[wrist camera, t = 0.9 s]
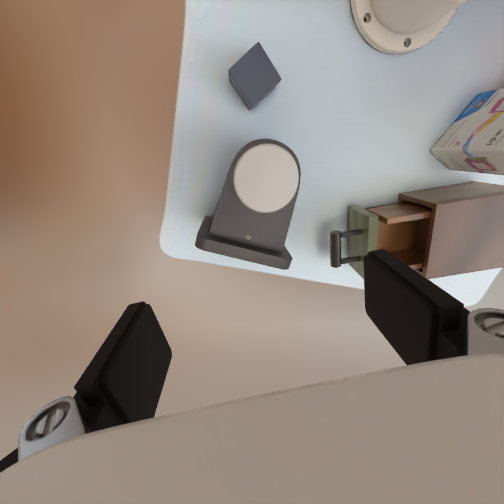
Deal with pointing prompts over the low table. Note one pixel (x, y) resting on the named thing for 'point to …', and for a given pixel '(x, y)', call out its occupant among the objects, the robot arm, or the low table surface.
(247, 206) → the light fixture
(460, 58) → the low table surface
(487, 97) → the ink box
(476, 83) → the low table surface
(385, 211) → the drawer
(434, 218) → the cabinet
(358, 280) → the low table surface
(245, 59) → the block
